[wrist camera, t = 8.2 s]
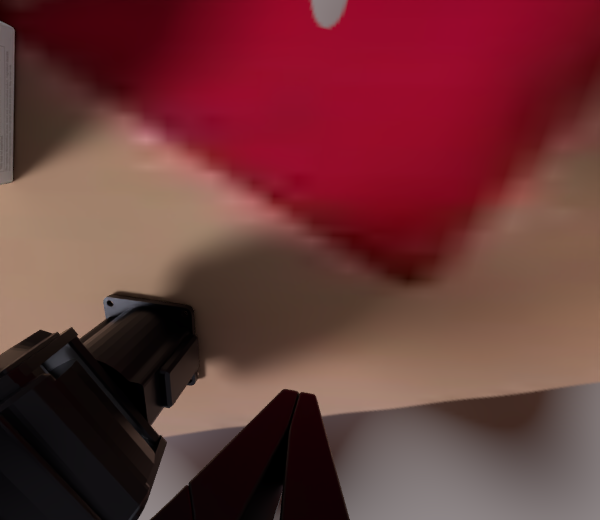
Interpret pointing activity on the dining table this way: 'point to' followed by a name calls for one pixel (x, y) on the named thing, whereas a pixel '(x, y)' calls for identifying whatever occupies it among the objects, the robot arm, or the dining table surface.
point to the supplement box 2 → (6, 101)
